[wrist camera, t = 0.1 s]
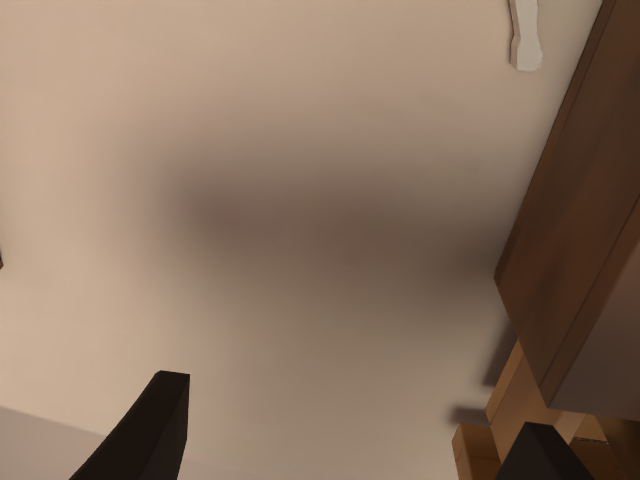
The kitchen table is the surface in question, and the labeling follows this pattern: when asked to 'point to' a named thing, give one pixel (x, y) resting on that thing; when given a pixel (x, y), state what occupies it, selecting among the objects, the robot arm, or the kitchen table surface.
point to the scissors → (525, 36)
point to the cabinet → (585, 235)
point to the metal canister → (623, 443)
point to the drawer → (508, 418)
